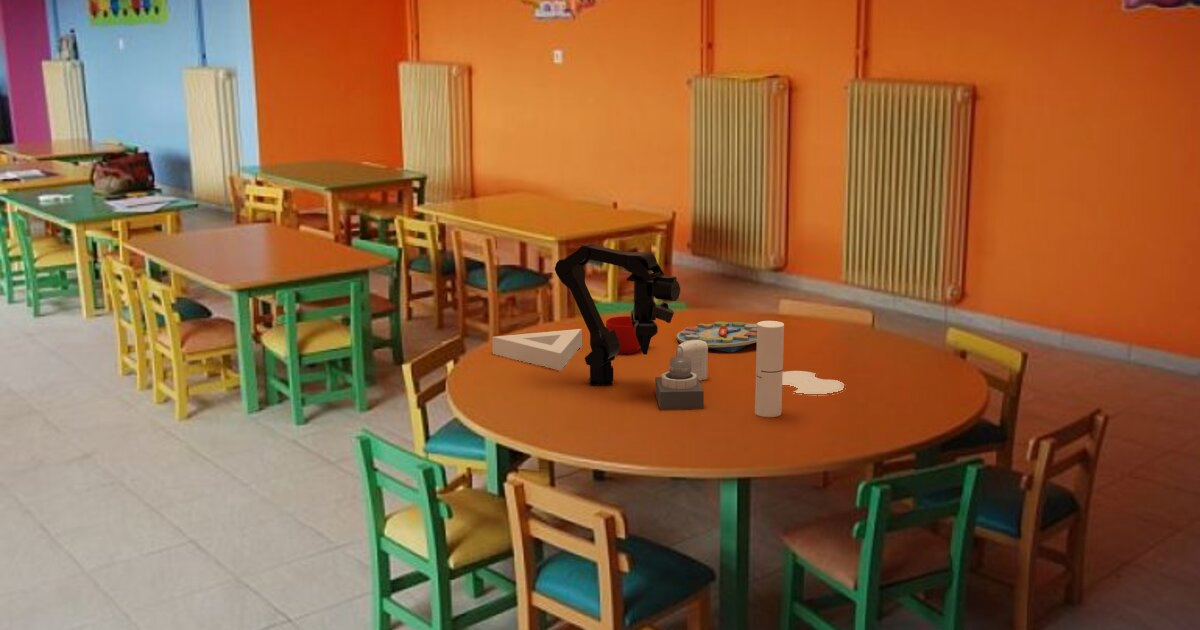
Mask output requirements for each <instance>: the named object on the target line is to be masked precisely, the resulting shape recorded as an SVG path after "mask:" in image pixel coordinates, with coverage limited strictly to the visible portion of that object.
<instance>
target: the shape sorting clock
mask: <svg viewBox="0 0 1200 630" xmlns="http://www.w3.org/2000/svg"><path fill="white" fill-rule="evenodd" d="M676 339H677V341H678V342H679V343H680V344H682V343H684V342H686V341H690V340H702V341H705V342H706V343H707V346H708V350H715V351H720V352H726V353H731V352H733V353H735V352H737V351H739V350H741V349H743V348H745V347H747V346H749V345H752V344H755V343H756V344H757V323H747V322H742V321H732V322H728V321H715V322H713V323H707V324H706V323H698V324H697V325H696V326H687V327H685V329H682V330H681V331H679V332H678V333H677V334H676ZM734 351H735V352H734Z"/></svg>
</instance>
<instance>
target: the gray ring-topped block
mask: <svg viewBox="0 0 1200 630" xmlns="http://www.w3.org/2000/svg"><path fill="white" fill-rule="evenodd" d="M669 377H670V370H669V371H666V372H665V371H664V372H663V373H661V376H656V377H655V379H654V380H655V382H654V383H655V385H654V387H655V388H654V394H655V397H656V401H657V404H658V406H659V409H660V410H691V409H692V410H693V409H695V410H696V409H697V410H698V409H704V403H705V402H704V399H705V396H704V395H705V393H704V392H705V391H704V389H703V388H704V387H702V384H701V383H700V381H699V379H698V377H697V376H696V374H695V373H692V372H691V378H689V379H683V380H676V379H670V378H669Z"/></svg>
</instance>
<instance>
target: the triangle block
mask: <svg viewBox="0 0 1200 630" xmlns="http://www.w3.org/2000/svg"><path fill="white" fill-rule="evenodd" d="M582 330H583V328H577V329H566V330H564V329H563V330H554V331H542V332H531V333H522V334H521V333H520V334H509V335H497V336H492V337H491V338H492V339H491V341H492V355H494V354H496V355H495V356H498V355H500V356H499V357H502V356H503V358H506V357H507V358H506V359H510V358H511V360H514V359H515V360H514V361H517V360H519V362H521V361H523V362H522V363H525V362H528V363H527V364H529V363H532V364H531V365H533V364H536V365H535V366H537V365H541V366H545V367H550V368H553V369H557V370H560V371H561V370H562V368H563V367H564V366H565V365H566V364H567V365H568V363H569V362H570V361H571V360H572V359H573V357H574V356H575V355H576V354H577V352H578V351H579V350H580V349H581V348H582V346H583V339H582V338H583V331H582ZM579 348H580V349H579ZM578 349H579V350H578ZM577 350H578V351H577ZM575 353H576V354H575ZM574 354H575V355H574ZM573 355H574V356H573ZM572 356H573V357H572ZM570 359H571V360H570ZM569 360H570V361H569ZM568 361H569V362H568ZM567 362H568V363H567ZM567 365H566V366H567ZM541 366H540V367H541ZM566 366H565V367H566ZM545 367H544V368H545ZM565 367H564V368H565ZM564 368H563V369H564ZM560 371H559V372H560ZM562 371H563V370H562ZM562 371H561V372H562Z"/></svg>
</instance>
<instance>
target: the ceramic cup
mask: <svg viewBox="0 0 1200 630" xmlns="http://www.w3.org/2000/svg"><path fill="white" fill-rule="evenodd" d="M633 320H634V318H633ZM605 327H606V328H607V329H608V330H609V331H612V330H615V332H616V335H617V338H618V339H619V340H620V342H619V344H620V350H619V353H618V354H621V355H622V354H626V355H630V354H634V353H636V352H637V351H638V350H639V349H640V348H641V347H640V345H639V342H638V340H637V337H636V334H635V330H634V328H633V325H632V322H631V318H630V316H629V315H628V316H627V315H626V316H615V317H610V318H608V319H607V320H606V321H605Z"/></svg>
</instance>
